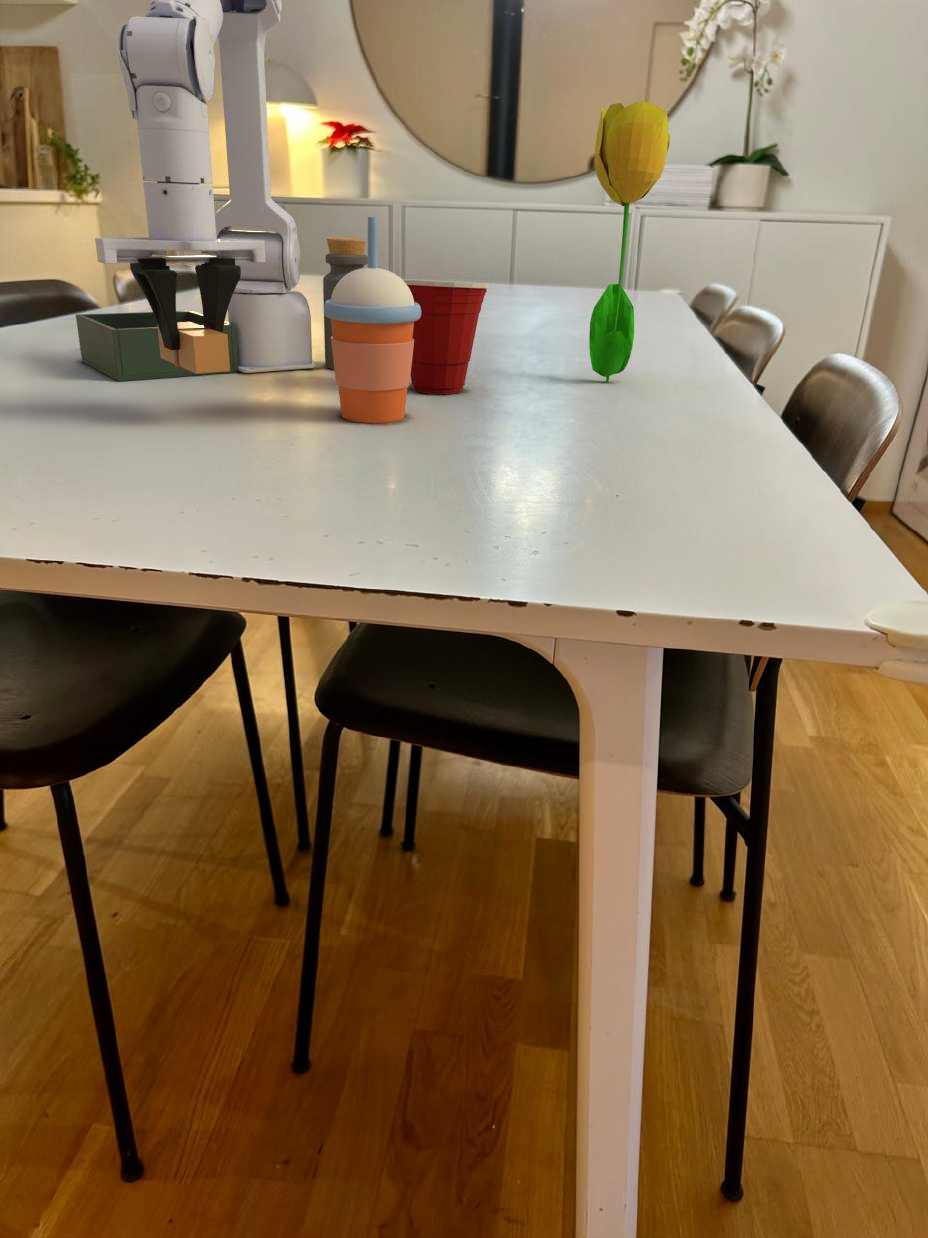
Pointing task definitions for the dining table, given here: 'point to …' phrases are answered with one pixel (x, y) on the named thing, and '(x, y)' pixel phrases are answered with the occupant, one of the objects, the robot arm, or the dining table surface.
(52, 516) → the dining table surface
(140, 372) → the bin
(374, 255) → the cup with straw
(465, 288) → the plastic cup
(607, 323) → the flower
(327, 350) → the bottle
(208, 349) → the grooved wooden block
